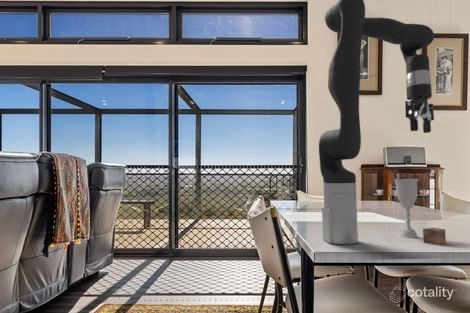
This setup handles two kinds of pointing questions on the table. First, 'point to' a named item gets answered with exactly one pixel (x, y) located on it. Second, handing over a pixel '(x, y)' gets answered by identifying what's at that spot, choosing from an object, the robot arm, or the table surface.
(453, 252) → the table surface
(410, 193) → the chalice
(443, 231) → the walnut cube
